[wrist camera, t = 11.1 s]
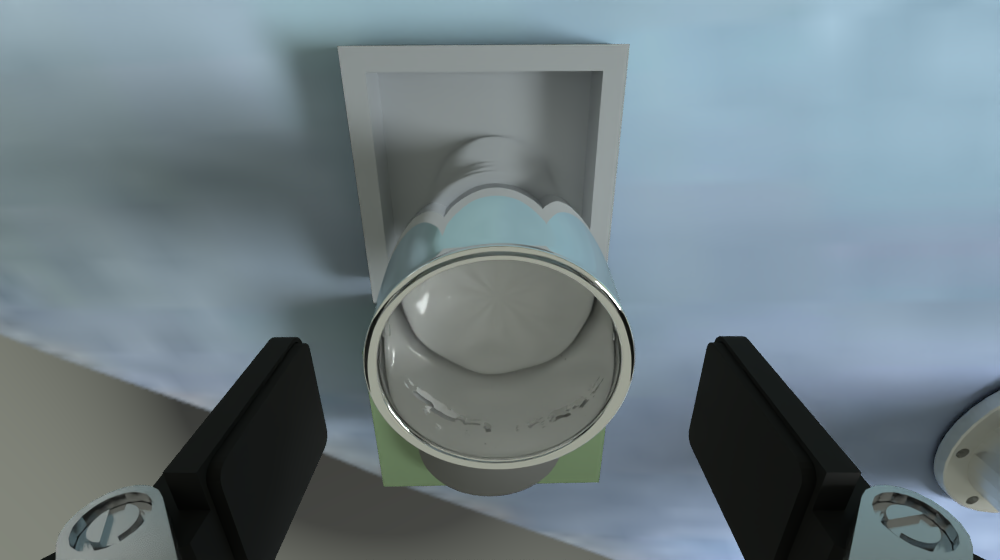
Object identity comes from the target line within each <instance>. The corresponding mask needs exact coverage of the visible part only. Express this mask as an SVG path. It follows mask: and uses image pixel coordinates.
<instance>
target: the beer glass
mask: <svg viewBox="0 0 1000 560" xmlns="http://www.w3.org/2000/svg"><path fill="white" fill-rule="evenodd" d="M363 368H364V376H365V380H366V384H367V388H368V391H369V393H370V396H371V398H372V400H373V402H374V404H375V406H376V408H377V409H378V411H379V412H380V414H381V415H382V417H383V418H384V419H385V421H386V422H387V423H388V424H389V425H390V426H391V427H392V428H393V429H394V430H395V431H396V432H397V433H398V434H399V435H400V436H401V437H402V438H404V439H405V440H406V441H407V442H409V443H410V444H412V445H413V446H415V447H416V448H418V449H420V450H421V451H423V452H425V453H427V454H429V455H431V456H433V457H436V458H438V459H441V460H443V461H446V462H449V463H453V464H456V465H461V466H465V467H471V468H478V469H490V470H505V469H517V468H524V467H529V466H534V465H538V464H542V463H545V462H548V461H551V460H554V459H557V458H559V457H561V456H564V455H566V454H568V453H570V452H572V451H574V450H576V449H577V448H579V447H581V446H582V445H584V444H585V443H587V442H588V441H589V440H591V439H592V438H593V437H594V436H596V435H597V434H598V433H599V432H600V431H601V430H602V429H603V428H604V427H605V426H606V425H607V424H608V423H609V422H610V421H611V420H612V418H613V417H614V416H615V414H616V413H617V412H618V410H619V409H620V407H621V405H622V404H623V402H624V400H625V398H626V396H627V394H628V391H629V389H630V386H631V383H632V379H633V375H634V369H635V343H634V337H633V332H632V329H631V326H630V323H629V320H628V318H627V316H626V314H625V312H624V310H623V308H622V305H621V302H620V299H619V295H618V292H617V289H616V286H615V283H614V281H613V278H612V275H611V272H610V269H609V267H608V264H607V262H606V260H605V258H604V255H603V253H602V251H601V249H600V247H599V245H598V243H597V241H596V239H595V237H594V235H593V234H592V232H591V231H590V229H589V228H588V226H587V225H586V223H585V221H584V220H583V218H582V217H581V216H580V214H579V213H578V212H577V211H576V209H575V208H574V207H573V206H572V205H571V204H570V203H569V202H568V201H567V200H566V199H564V198H563V197H562V196H561V195H560V194H559V193H558V192H557V191H555V190H554V189H553V188H552V183H551V179H550V176H549V173H548V171H547V169H546V167H545V165H544V163H543V162H542V160H541V159H540V158H539V156H538V155H537V154H536V153H535V152H534V151H533V150H531V149H530V148H529V147H527V146H526V145H524V144H522V143H520V142H518V141H516V140H513V139H510V138H506V137H498V136H489V137H482V138H478V139H475V140H472V141H469V142H467V143H465V144H464V145H462V146H460V147H459V148H458V149H456V150H455V151H454V152H453V153H452V154H451V155H450V156H449V157H448V158H447V160H446V161H445V162H444V164H443V166H442V168H441V170H440V172H439V175H438V178H437V181H436V187H435V192H434V193H433V194H432V195H431V196H430V197H429V198H428V199H427V200H426V201H425V202H424V203H423V204H422V205H421V206H420V208H419V209H418V210H417V211H416V212H415V213H414V215H413V216H412V217H411V219H410V220H409V222H408V223H407V225H406V227H405V229H404V230H403V232H402V234H401V236H400V237H399V239H398V241H397V243H396V245H395V247H394V249H393V252H392V254H391V257H390V260H389V262H388V265H387V268H386V270H385V273H384V276H383V280H382V284H381V287H380V291H379V294H378V298H377V302H376V306H375V311H374V315H373V318H372V320H371V322H370V325H369V327H368V330H367V334H366V337H365V342H364V350H363Z"/></svg>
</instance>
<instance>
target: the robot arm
mask: <svg viewBox="0 0 1000 560" xmlns="http://www.w3.org/2000/svg"><path fill="white" fill-rule="evenodd" d="M689 441H690V445H691V447H692V450H693V452H694V454H695V456H696V458H697V460H698V462H699V464H700V466H701V468H702V471H703V473H704V475H705V477H706V479H707V481H708V483H709V485H710V487H711V489H712V492H713V494H714V496H715V498H716V500H717V502H718V504H719V506H720V508H721V511H722V513H723V515H724V517H725V519H726V521H727V523H728V525H729V527H730V529H731V532H732V534H733V536H734V538H735V540H736V542H737V544H738V546H739V548H740V550H741V553H742V555H743V557H744V559H745V560H985V559H983V558H981V557H979V556H977V555H975V554H973V546H972V543H971V539H970V536H969V534H968V533H967V532H966V530H965V529H964V527H963V526H962V524H961V523H960V522H959V521H958V520H957V519H956V518H955V517H953V516H952V515H951V514H950V513H949V512H948V511H947V510H945V509H944V508H942V507H941V506H939V505H938V504H937V503H935V502H934V501H932V500H930V499H928V498H926V497H924V496H922V495H920V494H918V493H916V492H913V491H910V490H907V489H904V488H901V487H896V486H890V485H878V486H873V487H870V486H869V484H868V483H867V482H866V481H865V480H864V479H863V477H862V476H861V475H860V474H861V472H860V470H859V469H858V468H857V467H856V466H855V465H854V463H853V462H852V461H851V460H850V459H849V458H848V456H847V455H846V454H845V453H844V452H843V450H842V449H841V448H840V447H839V446H838V445H837V443H836V442H835V441H834V440H833V439H832V438H831V436H830V435H829V434H828V433H827V432H826V430H825V429H824V428H823V427H822V426H821V425H820V423H819V422H818V421H817V420H816V419H815V418H814V416H813V415H812V414H811V413H810V412H809V410H808V409H807V408H806V407H805V406H804V405H803V403H802V402H801V401H800V400H799V399H798V398H797V396H796V395H795V394H794V393H793V392H792V390H791V389H790V388H789V387H788V386H787V385H786V383H785V382H784V381H783V380H782V379H781V378H780V376H779V375H778V374H777V373H776V372H775V370H774V369H773V368H772V367H771V366H770V365H769V363H768V362H767V361H766V360H765V359H764V357H763V356H762V355H761V354H760V353H759V352H758V350H757V349H756V348H755V347H754V346H753V345H752V343H751V342H750V341H749V340H748V339H747V338H746V337H743V336H719V337H717V338H716V340H715V342H714V343H709V344H708V346H707V349H706V354H705V359H704V363H703V368H702V373H701V377H700V382H699V387H698V391H697V396H696V401H695V405H694V410H693V415H692V419H691V424H690V429H689ZM326 442H327V428H326V424H325V419H324V414H323V409H322V405H321V400H320V395H319V390H318V386H317V381H316V376H315V372H314V367H313V362H312V357H311V353H310V348H309V346H308V344H306V343H302V341H301V340H300V338H298V337H274V338H271V339H270V340H269V341H268V343H267V344H266V345H265V346H264V348H263V349H262V350H261V351H260V352H259V354H258V355H257V356H256V357H255V359H254V360H253V361H252V362H251V364H250V365H249V366H248V367H247V369H246V370H245V371H244V372H243V374H242V375H241V376H240V377H239V379H238V380H237V381H236V382H235V383H234V385H233V386H232V387H231V388H230V390H229V391H228V392H227V393H226V395H225V396H224V397H223V398H222V400H221V401H220V402H219V403H218V405H217V406H216V407H215V408H214V410H213V411H212V412H211V413H210V415H209V416H208V417H207V418H206V419H205V421H204V422H203V423H202V425H201V426H200V427H199V428H198V429H197V431H196V432H195V433H194V434H193V436H192V437H191V438H190V439H189V441H188V442H187V443H186V444H185V446H184V447H183V448H182V449H181V451H180V452H179V453H178V454H177V455H176V457H175V458H174V459H173V460H172V462H171V463H170V464H169V465H168V467H167V468H166V469H165V470H164V472H163V474H162V476H161V477H160V478H159V479H158V481H157V482H156V483H155V484H154V486H153V487H151V486H146V485H135V486H129V487H123V488H121V489H118V490H115V491H112V492H109V493H107V494H105V495H103V496H101V497H99V498H97V499H96V500H94V501H92V502H91V503H90V504H88V505H86V506H85V507H84V508H82V509H81V510H80V511H78V512H77V513H76V514H75V515H74V516H73V517H72V518H71V519H70V520H69V521H68V522H67V523H66V525H65V526H64V528H63V529H62V531H61V532H60V534H59V536H58V540H57V544H56V552H55V553H53V554H51V555H49V556H47V557H45V558H43V559H41V560H275V558H276V555H277V553H278V551H279V549H280V546H281V544H282V542H283V540H284V538H285V535H286V533H287V531H288V529H289V526H290V524H291V522H292V520H293V518H294V515H295V513H296V511H297V508H298V506H299V504H300V502H301V500H302V497H303V495H304V493H305V491H306V489H307V486H308V484H309V482H310V480H311V477H312V475H313V473H314V471H315V468H316V466H317V464H318V462H319V460H320V457H321V455H322V453H323V451H324V448H325V446H326ZM934 474H935V478H936V481H937V482H938V484H939V485H940V487H941V488H942V489H943V490H944V491H945V492H946V493H947V494H948V495H949V496H950V497H951V498H952V499H953V500H954V501H955V502H957V503H958V504H960V505H961V506H964V507H966V508H969V509H973V510H976V511H983V512H991V513H1000V390H999V391H997V392H995V393H994V394H992V395H990V396H988V397H986V398H985V399H984V400H982V401H981V402H979V403H978V404H976V405H975V406H974V407H972V408H971V409H970V410H969V411H967V412H966V413H965V414H964V415H963V416H962V417H961V418H960V419H958V420H957V421H956V423H955V424H954V425H953V426H952V427H951V429H950V430H949V431H948V432H947V433H946V435H945V437H944V438H943V440H942V442H941V443H940V445H939V447H938V450H937V453H936V456H935V459H934Z"/></svg>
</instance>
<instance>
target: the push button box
mask: <svg viewBox="0 0 1000 560" xmlns="http://www.w3.org/2000/svg"><path fill="white" fill-rule="evenodd" d="M629 45H630V44H552V45H396V46H337V47H338V54H339V61H340V68H341V76H342V83H343V90H344V97H345V104H346V111H347V118H348V125H349V133H350V140H351V147H352V154H353V161H354V168H355V175H356V183H357V190H358V197H359V204H360V211H361V218H362V225H363V232H364V240H365V247H366V254H367V261H368V268H369V275H370V282H371V290H372V297H373V303H376V302H377V298H378V294H379V291H380V287H381V284H382V280H383V276H384V273H385V270H386V268H387V265H388V262H389V260H390V257H391V254H392V252H393V249H394V247H395V245H396V243H397V241H398V239H399V237H400V236H401V234H402V232H403V230H404V229H405V227H406V225H407V223H408V222H409V220H410V219H411V217H412V216H413V215H414V213H415V212H416V211H417V210H418V209H419V208H420V206H421V205H422V204H423V203H424V202H425V201H426V200H427V199H428V198H429V197H430V196H431V195H432V194H433V193H434V192H435V187H436V181H437V178H438V175H439V172H440V170H441V168H442V166H443V164H444V162H445V161H446V160H447V158H448V157H449V156H450V155H451V154H452V153H453V152H454V151H455V150H456V149H458V148H459V147H460V146H462V145H464V144H465V143H467V142H469V141H472V140H475V139H478V138H482V137H489V136H498V137H506V138H510V139H513V140H516V141H518V142H520V143H522V144H524V145H526V146H527V147H529V148H530V149H531V150H533V151H534V152H535V153H536V154H537V155H538V156H539V158H540V159H541V160H542V162H543V163H544V165H545V167H546V169H547V171H548V173H549V176H550V179H551V183H552V188H553V189H554V190H555V191H557V192H558V193H559V194H560V195H561V196H562V197H563V198H564V199H566V200H567V201H568V202H569V203H570V204H571V205H572V206H573V207H574V208H575V209H576V211H577V212H578V213H579V214H580V216H581V217H582V218H583V220H584V221H585V223H586V225H587V226H588V228H589V229H590V231H591V232H592V234H593V235H594V237H595V239H596V241H597V243H598V245H599V247H600V249H601V251H602V253H603V255H604V258H605V260H606V262H607V260H608V251H609V241H610V231H611V221H612V212H613V202H614V192H615V182H616V172H617V163H618V153H619V143H620V133H621V124H622V114H623V104H624V94H625V85H626V75H627V65H628V55H629ZM363 350H364V349H363ZM362 354H363V352H362ZM369 398H370V404H371V410H372V416H373V423H374V429H375V435H376V441H377V448H378V454H379V460H380V466H381V473H382V479H383V485H384V487H388V486H389V487H391V486H392V487H393V486H441V485H447V486H448V487H450V488H452V489H455V490H457V491H460V492H463V493H467V494H472V495H478V496H502V495H508V494H512V493H516V492H519V491H522V490H525V489H527V488H529V487H531V486H533V485H535V484H538V483H587V482H599V477H600V469H601V461H602V452H603V444H604V436H605V427H606V426H605V427H604V428H603V429H602V430H601V431H600V432H599V433H598V434H597V435H596V436H594V437H593V438H592V439H591V440H589V441H588V442H587V443H585V444H584V445H582V446H581V447H579V448H577V449H576V450H574V451H572V452H570V453H568V454H566V455H564V456H561V457H559V458H557V459H554V460H551V461H548V462H545V463H542V464H538V465H534V466H529V467H524V468H517V469H505V470H490V469H478V468H471V467H465V466H461V465H456V464H453V463H449V462H446V461H443V460H441V459H438V458H436V457H433V456H431V455H429V454H427V453H425V452H423V451H421V450H420V449H418V448H416V447H415V446H413V445H412V444H410V443H409V442H407V441H406V440H405V439H404V438H402V437H401V436H400V435H399V434H398V433H397V432H396V431H395V430H394V429H393V428H392V427H391V426H390V425H389V424H388V423H387V422H386V421H385V419H384V418H383V417H382V415H381V414H380V412H379V411H378V409H377V408H376V406H375V404H374V402H373V400H372V398H371V396H370V393H369Z"/></svg>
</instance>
